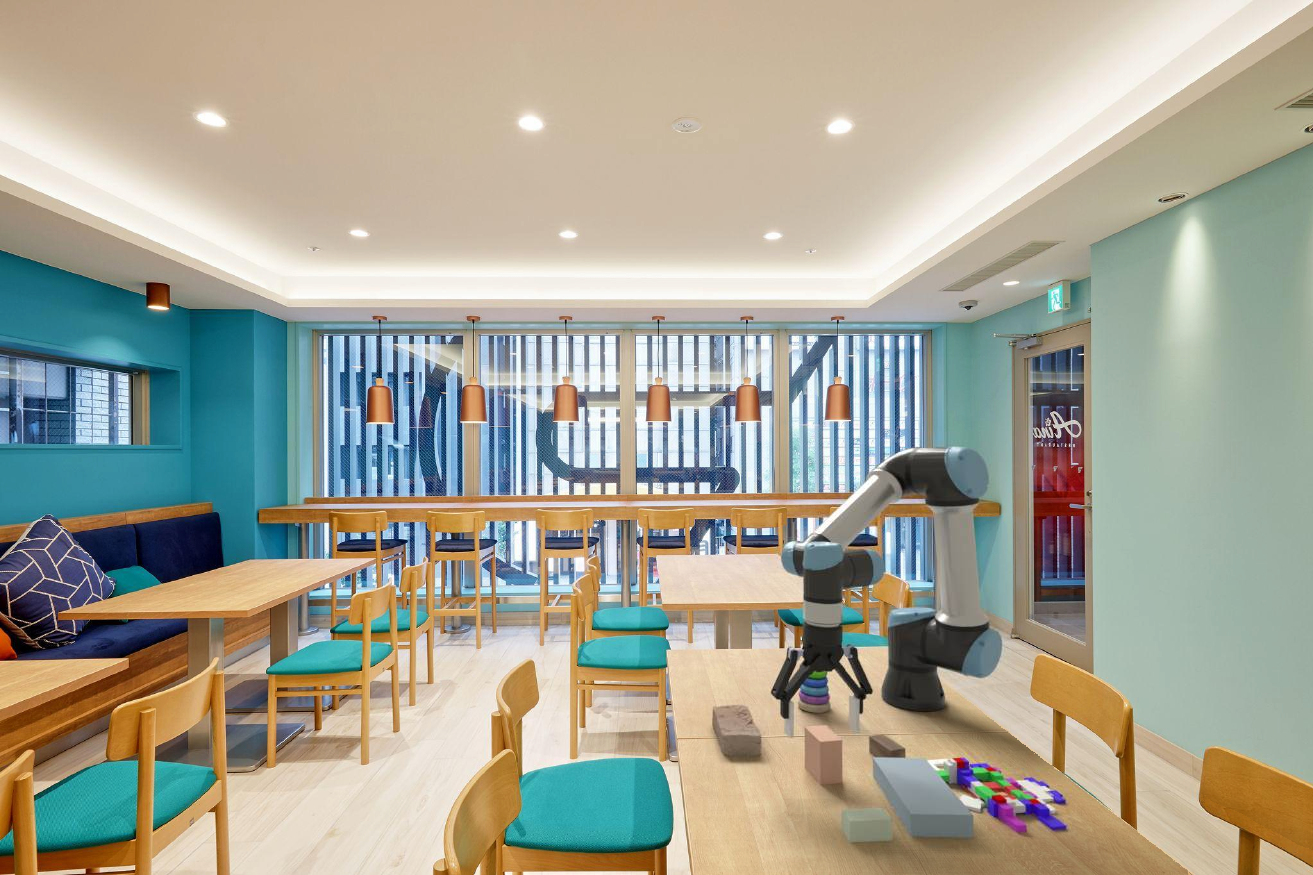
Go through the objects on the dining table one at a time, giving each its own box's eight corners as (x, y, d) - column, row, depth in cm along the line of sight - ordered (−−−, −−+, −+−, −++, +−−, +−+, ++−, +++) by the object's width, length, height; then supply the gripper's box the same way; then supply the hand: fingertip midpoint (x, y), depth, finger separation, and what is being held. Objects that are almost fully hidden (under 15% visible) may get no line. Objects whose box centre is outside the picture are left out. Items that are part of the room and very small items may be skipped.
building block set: (1104, 829, 108) (1103, 802, 108) (991, 838, 105) (991, 810, 105) (1003, 760, 132) (1003, 738, 133) (910, 766, 130) (910, 743, 130)
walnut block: (883, 750, 136) (883, 734, 136) (905, 766, 129) (905, 748, 129) (869, 753, 135) (869, 736, 135) (890, 768, 128) (890, 750, 128)
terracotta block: (825, 765, 129) (825, 725, 129) (842, 782, 122) (842, 739, 122) (804, 767, 128) (804, 726, 128) (820, 785, 121) (820, 741, 121)
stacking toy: (794, 711, 156) (794, 633, 157) (800, 699, 164) (800, 625, 165) (828, 716, 153) (828, 636, 154) (832, 704, 161) (832, 628, 162)
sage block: (841, 830, 106) (841, 809, 106) (882, 829, 107) (882, 807, 107) (850, 843, 103) (850, 821, 103) (892, 841, 103) (892, 819, 103)
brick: (762, 756, 133) (762, 733, 133) (722, 757, 132) (722, 734, 133) (747, 724, 149) (747, 703, 150) (711, 724, 149) (711, 704, 149)
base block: (925, 779, 124) (924, 758, 124) (973, 840, 104) (972, 814, 104) (872, 778, 124) (872, 757, 125) (911, 838, 104) (910, 813, 105)
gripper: (870, 615, 132) (870, 721, 131) (755, 619, 127) (754, 728, 126) (891, 624, 125) (890, 736, 124) (769, 629, 120) (768, 745, 119)
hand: (821, 732), depth 125 cm, fingers open, 13 cm apart
